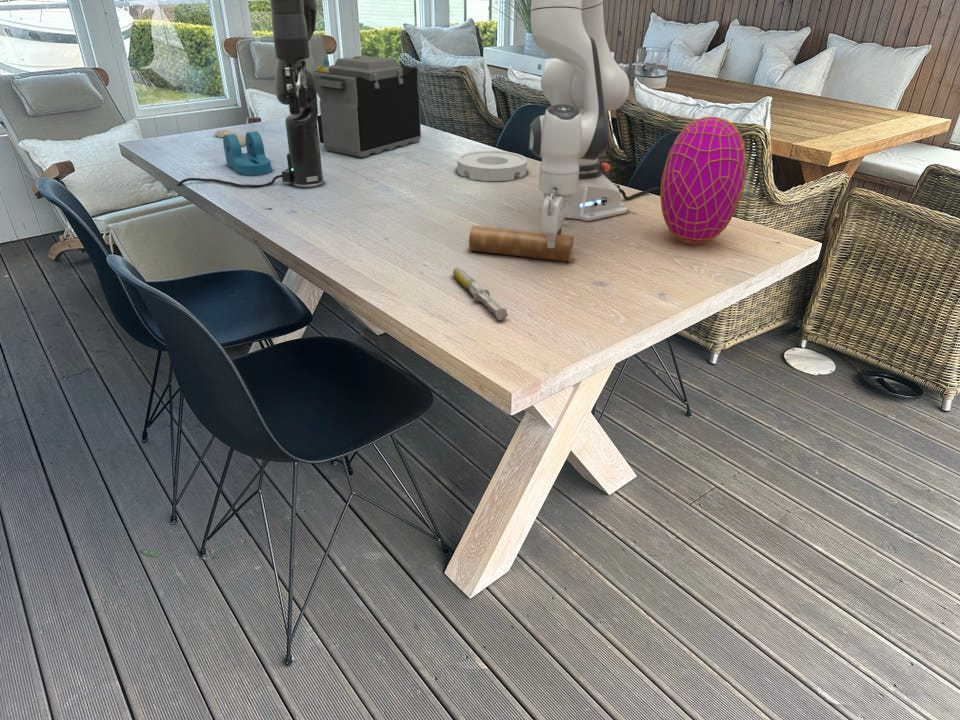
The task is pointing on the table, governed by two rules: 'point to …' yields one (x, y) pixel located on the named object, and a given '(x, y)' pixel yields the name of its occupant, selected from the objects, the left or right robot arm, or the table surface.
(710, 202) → the decorative egg
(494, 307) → the syringe
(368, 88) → the grey cooler box
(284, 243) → the table surface
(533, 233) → the rod
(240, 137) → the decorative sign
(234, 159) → the camera mount
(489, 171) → the ashtray
